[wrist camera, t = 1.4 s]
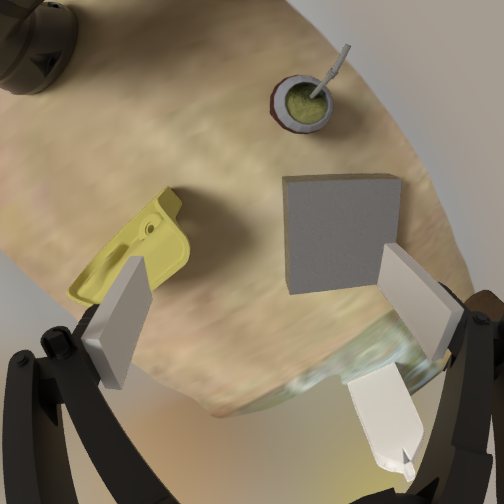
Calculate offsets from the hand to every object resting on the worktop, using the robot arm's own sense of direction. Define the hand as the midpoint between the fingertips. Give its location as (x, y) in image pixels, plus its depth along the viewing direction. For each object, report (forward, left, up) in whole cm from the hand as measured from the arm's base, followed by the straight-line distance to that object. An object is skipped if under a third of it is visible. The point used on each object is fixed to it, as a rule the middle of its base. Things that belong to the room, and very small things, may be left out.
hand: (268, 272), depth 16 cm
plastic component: (+8, -16, -26) cm, 32 cm away
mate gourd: (-10, +7, -26) cm, 28 cm away
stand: (+8, +13, -26) cm, 30 cm away
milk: (+48, +26, -26) cm, 60 cm away
